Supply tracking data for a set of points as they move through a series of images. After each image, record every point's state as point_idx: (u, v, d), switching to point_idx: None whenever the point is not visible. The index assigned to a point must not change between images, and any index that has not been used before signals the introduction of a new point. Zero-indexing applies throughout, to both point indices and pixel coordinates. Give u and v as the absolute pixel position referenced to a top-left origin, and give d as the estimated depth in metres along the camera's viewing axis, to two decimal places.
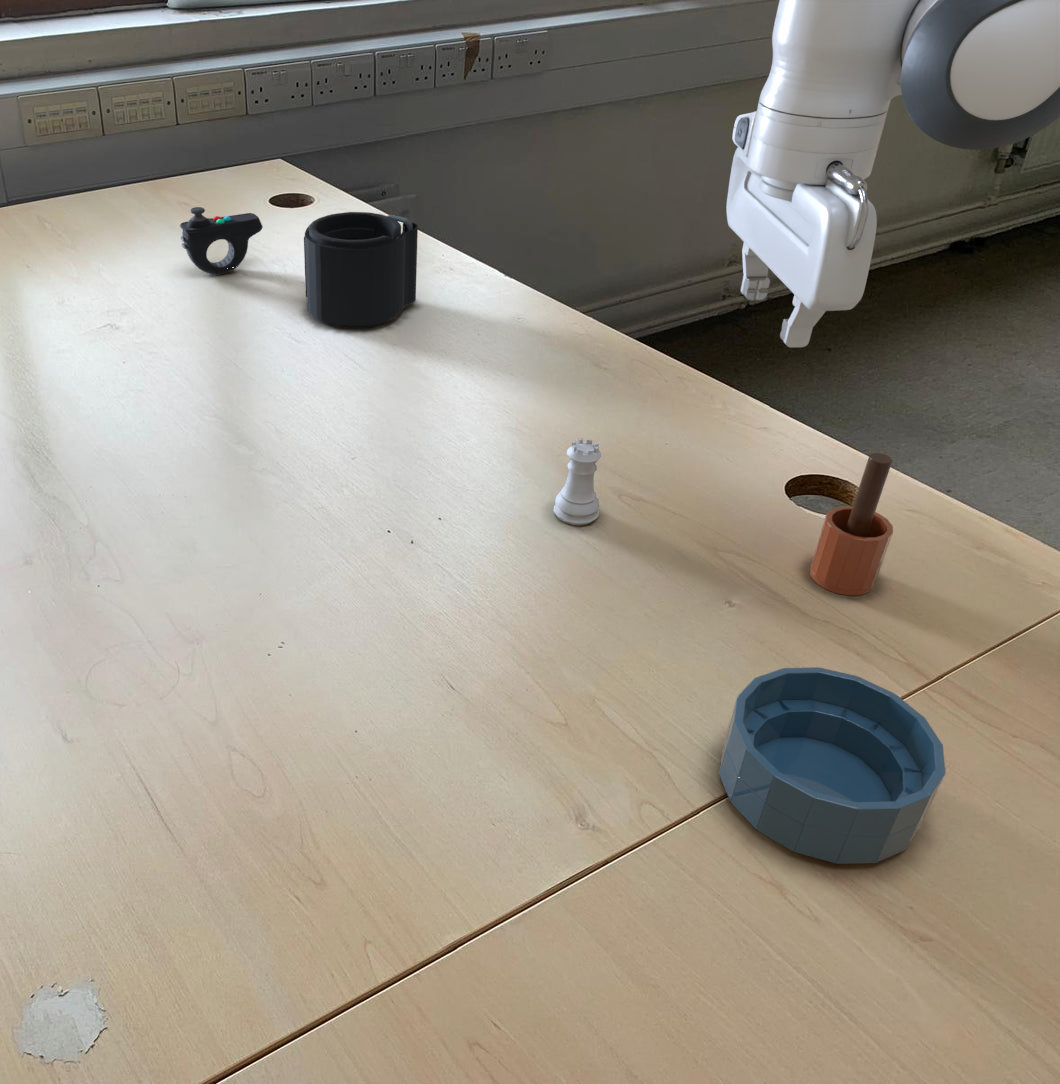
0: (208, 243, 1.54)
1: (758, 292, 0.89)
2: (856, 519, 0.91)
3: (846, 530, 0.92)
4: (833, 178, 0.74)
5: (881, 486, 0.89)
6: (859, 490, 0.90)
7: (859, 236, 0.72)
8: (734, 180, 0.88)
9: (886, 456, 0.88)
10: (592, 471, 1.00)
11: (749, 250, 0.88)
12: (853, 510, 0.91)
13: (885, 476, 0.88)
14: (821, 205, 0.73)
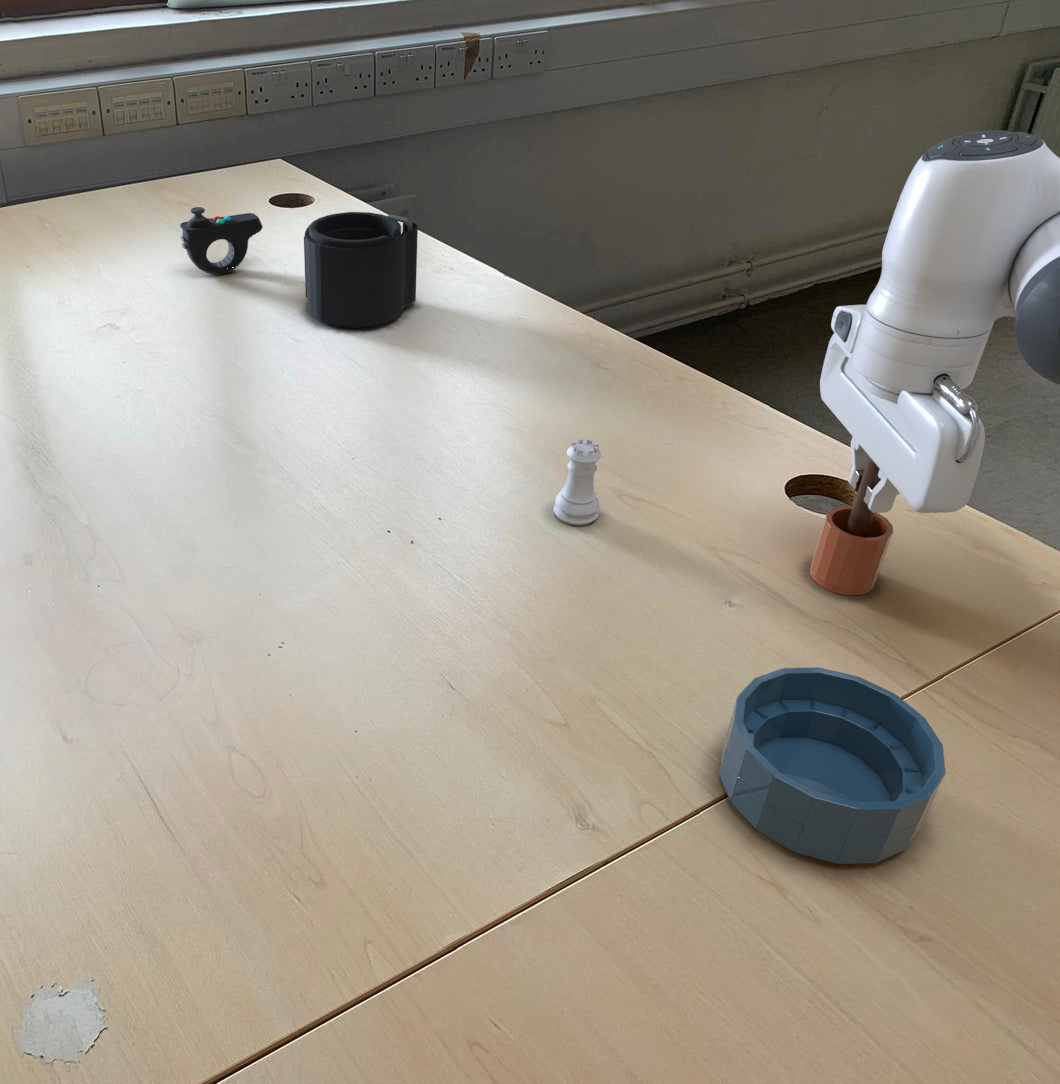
0: (208, 243, 1.54)
1: None
2: (856, 520, 0.91)
3: (846, 530, 0.92)
4: (941, 392, 0.78)
5: None
6: (859, 490, 0.90)
7: (969, 453, 0.76)
8: (830, 361, 0.92)
9: None
10: (592, 471, 1.00)
11: (859, 446, 0.90)
12: (853, 510, 0.91)
13: None
14: (931, 419, 0.77)
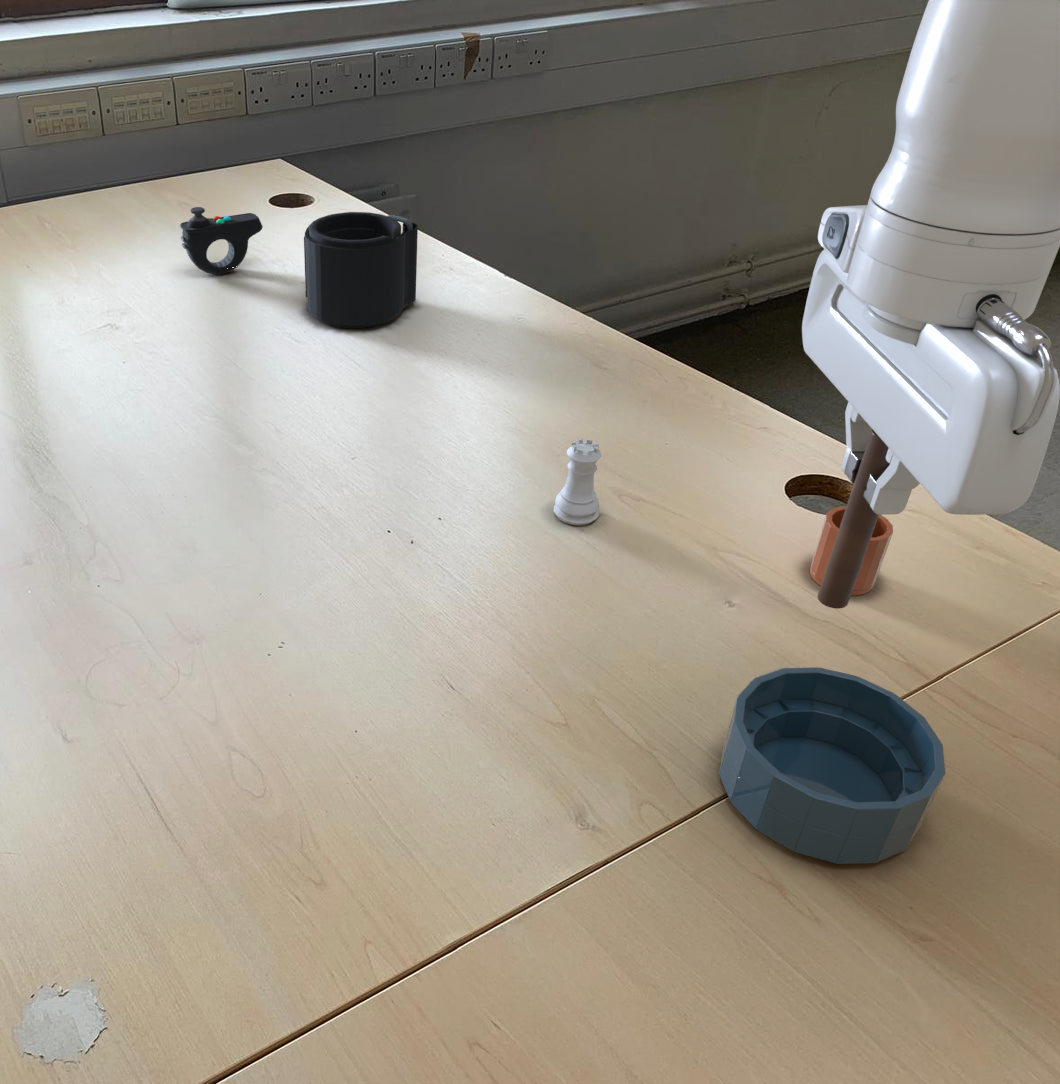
0: (208, 243, 1.54)
1: None
2: (852, 525, 0.62)
3: (837, 540, 0.63)
4: (989, 322, 0.49)
5: None
6: (856, 481, 0.61)
7: (1036, 418, 0.47)
8: (816, 293, 0.63)
9: None
10: (592, 471, 1.00)
11: (858, 416, 0.61)
12: (847, 511, 0.62)
13: None
14: (974, 364, 0.48)
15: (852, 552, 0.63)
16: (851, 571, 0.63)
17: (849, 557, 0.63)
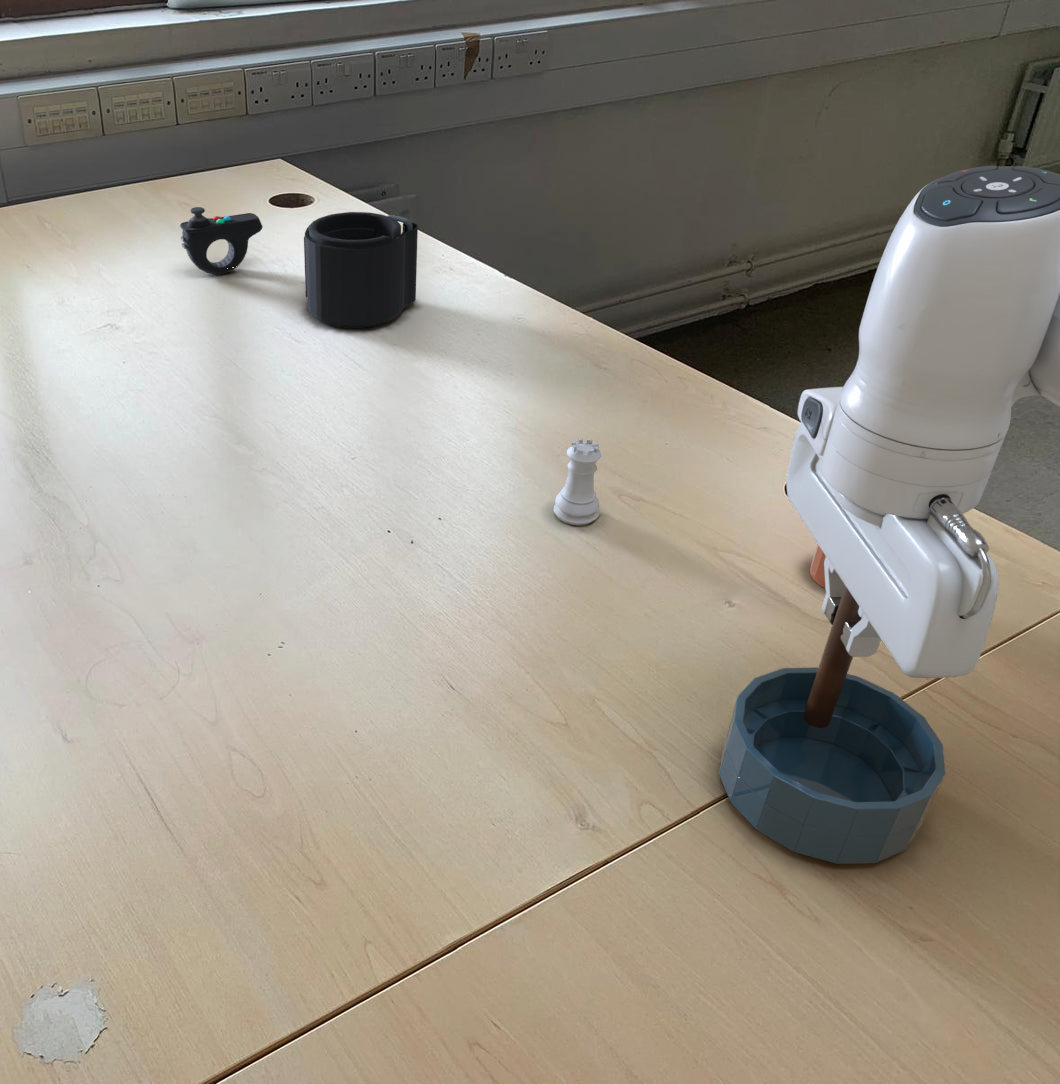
0: (208, 243, 1.54)
1: None
2: (831, 661, 0.71)
3: (819, 672, 0.72)
4: (939, 520, 0.58)
5: None
6: (834, 625, 0.70)
7: (978, 609, 0.56)
8: (798, 455, 0.72)
9: None
10: (592, 471, 1.00)
11: (835, 568, 0.69)
12: (827, 649, 0.71)
13: None
14: (926, 559, 0.57)
15: (832, 683, 0.72)
16: (831, 698, 0.72)
17: (829, 687, 0.72)
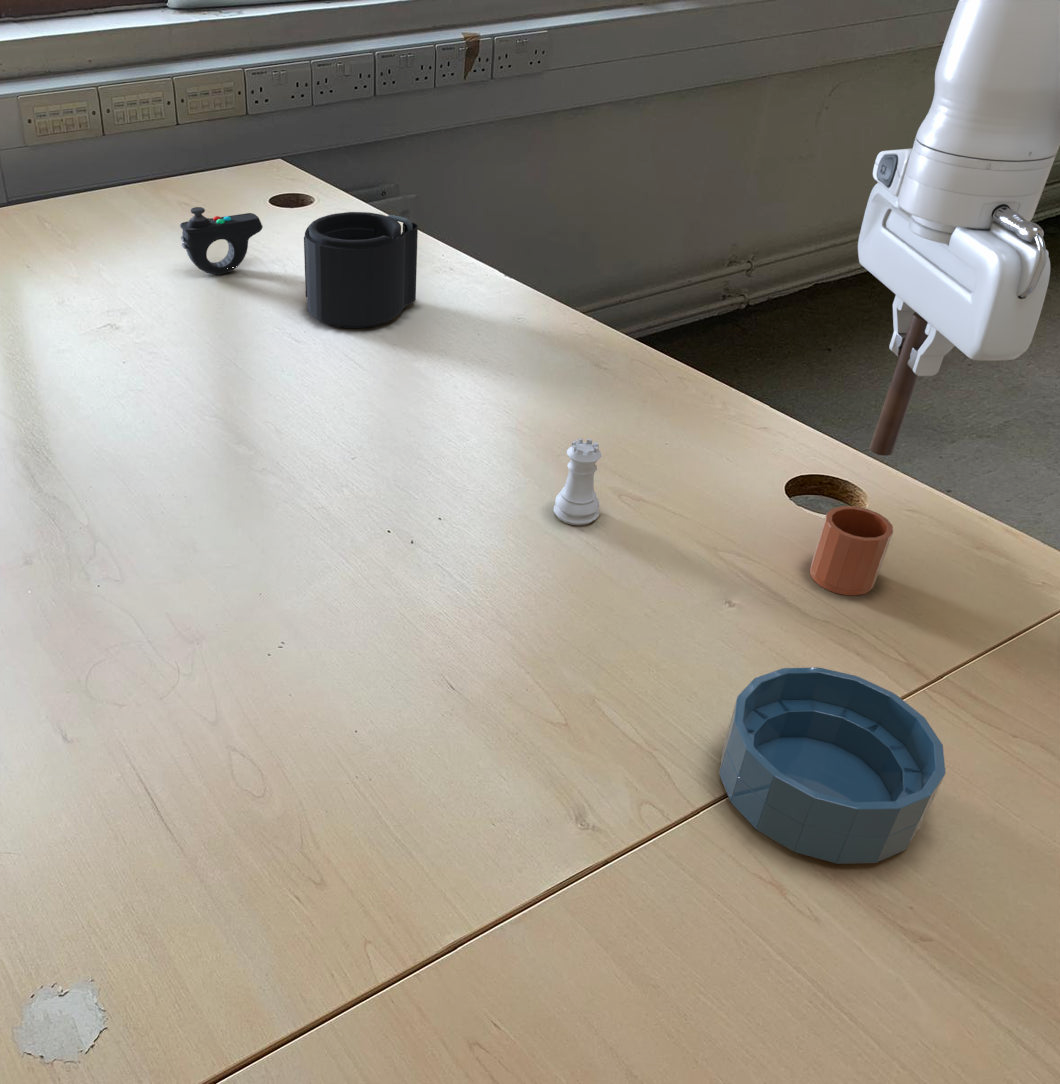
0: (208, 243, 1.54)
1: None
2: (897, 387, 0.84)
3: (885, 401, 0.85)
4: (1001, 223, 0.71)
5: None
6: (901, 354, 0.82)
7: (1034, 285, 0.68)
8: (870, 217, 0.85)
9: None
10: (592, 471, 1.00)
11: (903, 305, 0.82)
12: (894, 377, 0.84)
13: None
14: (991, 251, 0.70)
15: (897, 409, 0.84)
16: (896, 425, 0.85)
17: (895, 413, 0.85)
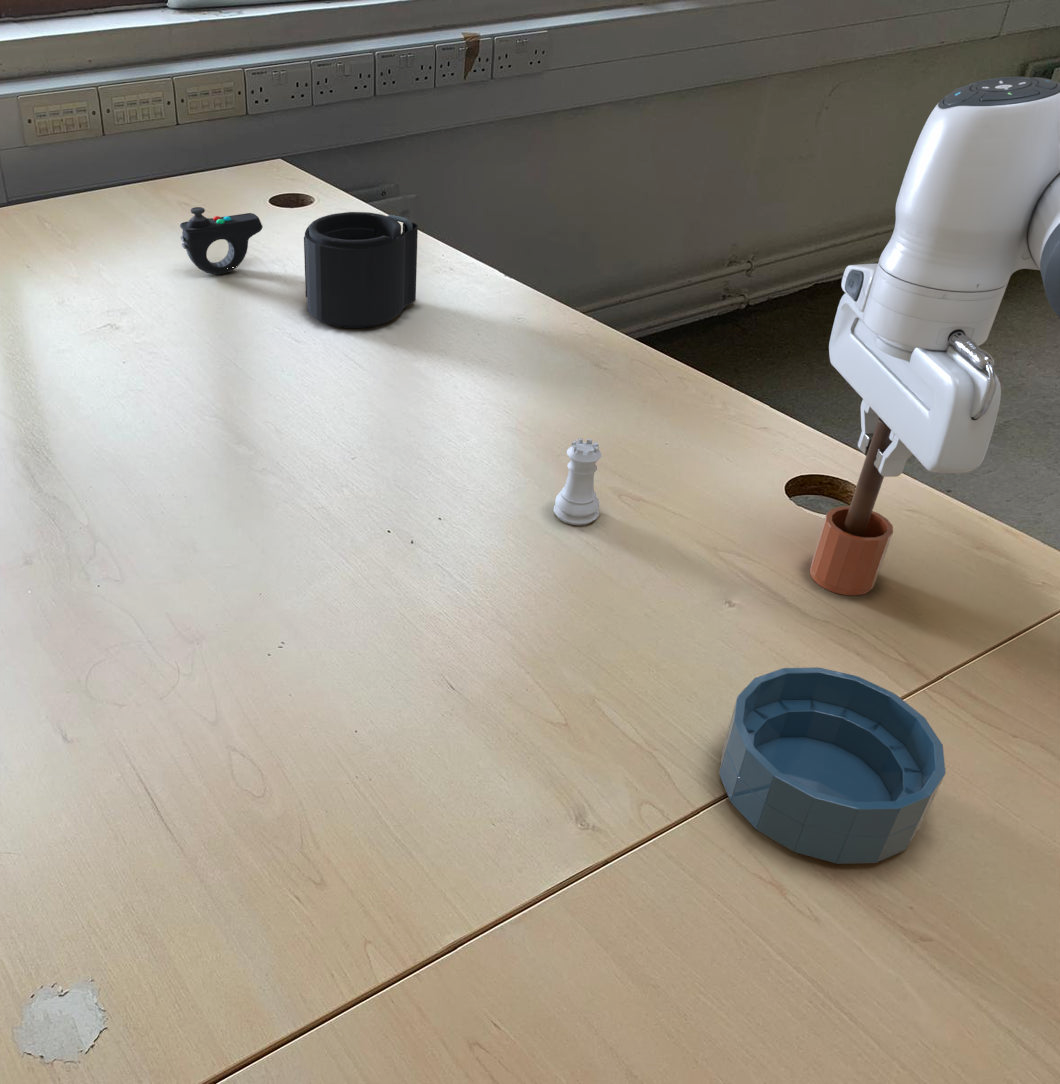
0: (208, 243, 1.54)
1: None
2: (865, 485, 0.89)
3: (854, 496, 0.90)
4: (956, 348, 0.76)
5: None
6: (868, 454, 0.88)
7: (985, 409, 0.74)
8: (840, 323, 0.90)
9: None
10: (592, 471, 1.00)
11: (869, 409, 0.88)
12: (862, 475, 0.89)
13: None
14: (946, 375, 0.75)
15: (865, 504, 0.90)
16: (864, 518, 0.90)
17: (863, 508, 0.90)
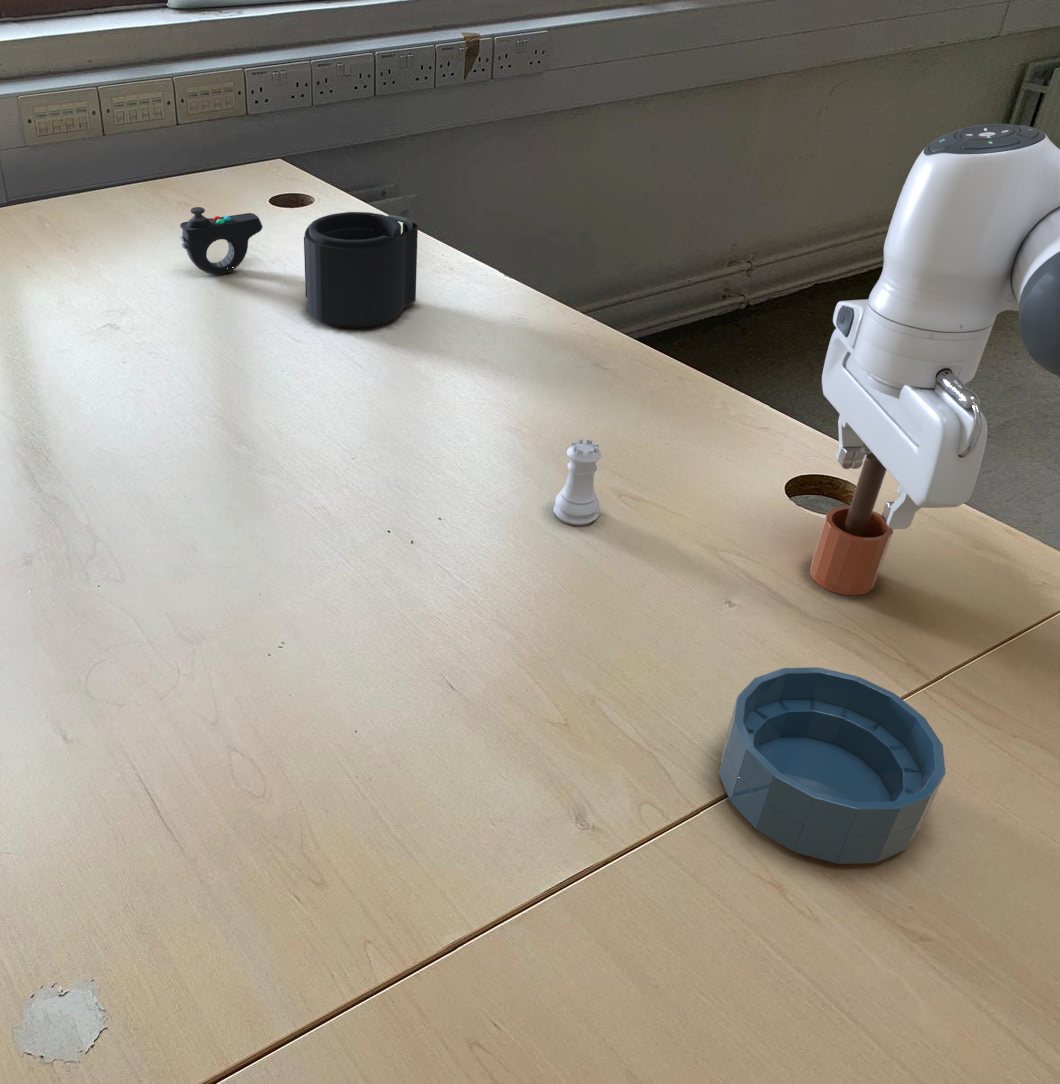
0: (208, 243, 1.54)
1: (854, 461, 0.93)
2: (853, 520, 0.91)
3: (843, 530, 0.92)
4: (944, 386, 0.78)
5: (878, 486, 0.89)
6: (856, 491, 0.90)
7: (972, 448, 0.76)
8: (832, 356, 0.92)
9: None
10: (592, 471, 1.00)
11: (846, 423, 0.92)
12: (850, 510, 0.91)
13: (882, 476, 0.88)
14: (934, 414, 0.77)
15: None
16: None
17: None
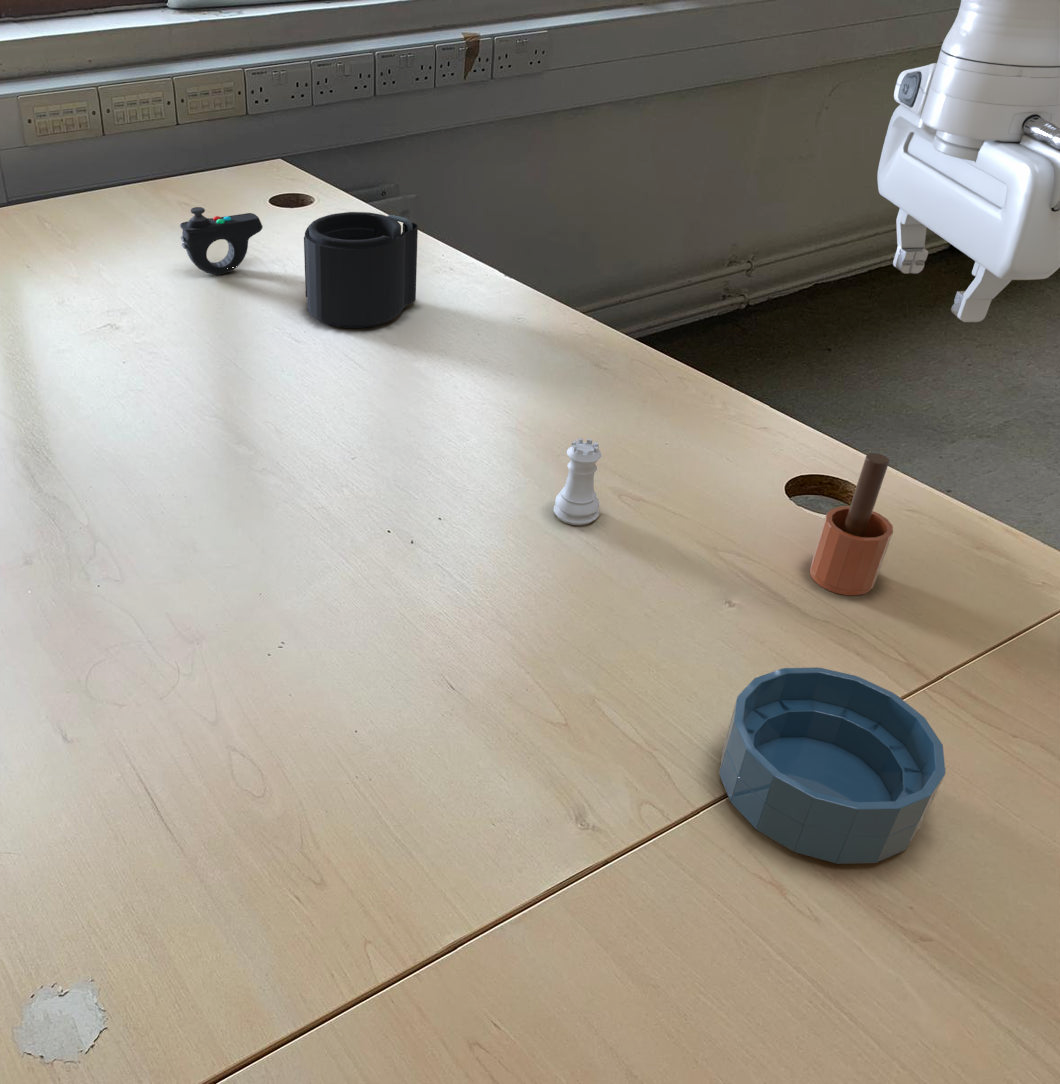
0: (208, 243, 1.54)
1: (914, 264, 0.82)
2: (853, 520, 0.91)
3: (843, 530, 0.92)
4: (1033, 133, 0.67)
5: (878, 486, 0.89)
6: (856, 491, 0.90)
7: None
8: (891, 143, 0.81)
9: (883, 456, 0.88)
10: (592, 471, 1.00)
11: (907, 219, 0.81)
12: (850, 510, 0.91)
13: (882, 476, 0.88)
14: (1022, 162, 0.67)
15: None
16: None
17: None
